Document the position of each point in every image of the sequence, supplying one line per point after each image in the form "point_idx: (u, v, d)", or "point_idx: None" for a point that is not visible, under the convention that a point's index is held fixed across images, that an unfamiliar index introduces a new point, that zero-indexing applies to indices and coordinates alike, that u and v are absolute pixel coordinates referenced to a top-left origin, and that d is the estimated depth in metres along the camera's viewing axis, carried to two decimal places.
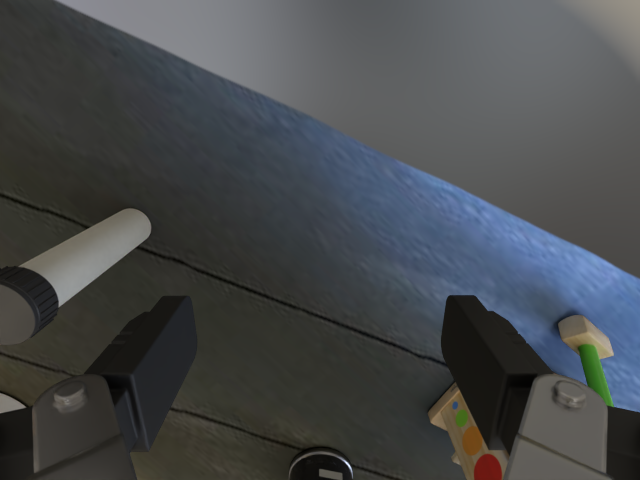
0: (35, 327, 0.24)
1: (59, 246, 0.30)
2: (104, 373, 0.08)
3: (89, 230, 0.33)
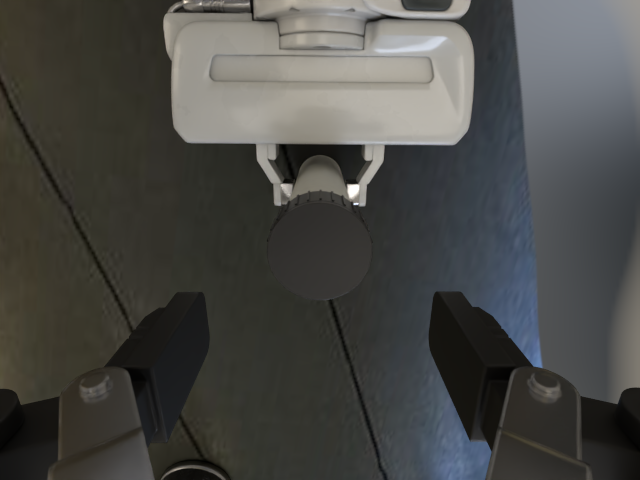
0: (331, 298, 0.17)
1: (343, 189, 0.23)
2: (126, 365, 0.08)
3: (340, 178, 0.26)
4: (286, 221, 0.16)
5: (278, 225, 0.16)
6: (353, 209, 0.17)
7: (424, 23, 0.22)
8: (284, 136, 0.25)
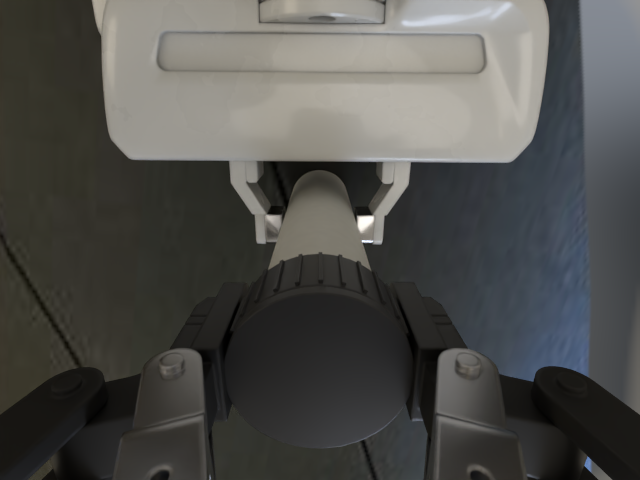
0: (339, 443, 0.10)
1: (353, 231, 0.15)
2: (193, 347, 0.08)
3: (348, 207, 0.19)
4: (256, 324, 0.09)
5: (241, 331, 0.09)
6: (380, 295, 0.09)
7: None
8: (268, 150, 0.17)
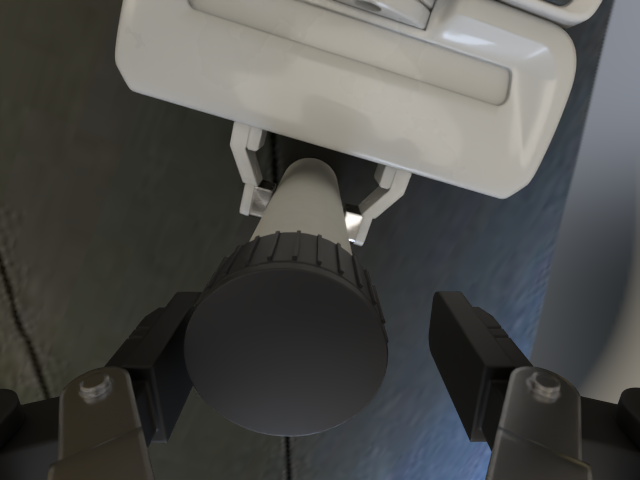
0: (373, 395, 0.09)
1: (343, 224, 0.15)
2: (125, 365, 0.08)
3: (340, 201, 0.19)
4: (195, 363, 0.09)
5: (193, 376, 0.09)
6: (268, 253, 0.08)
7: (524, 17, 0.14)
8: (277, 122, 0.17)
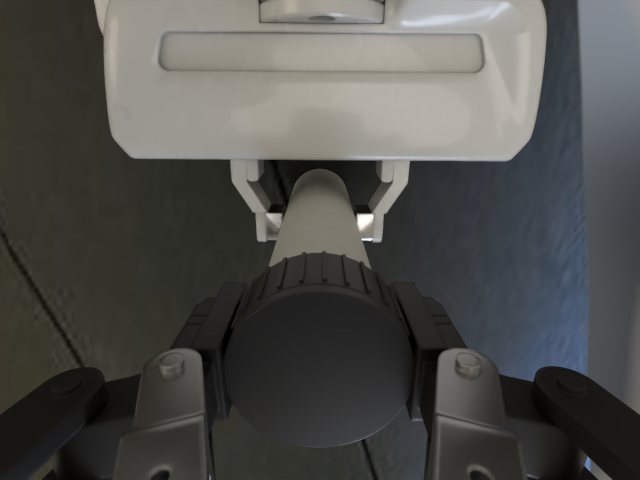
0: (410, 390, 0.09)
1: (353, 229, 0.15)
2: (193, 347, 0.08)
3: (348, 205, 0.19)
4: (239, 397, 0.09)
5: (241, 409, 0.09)
6: (277, 282, 0.09)
7: None
8: (269, 149, 0.17)
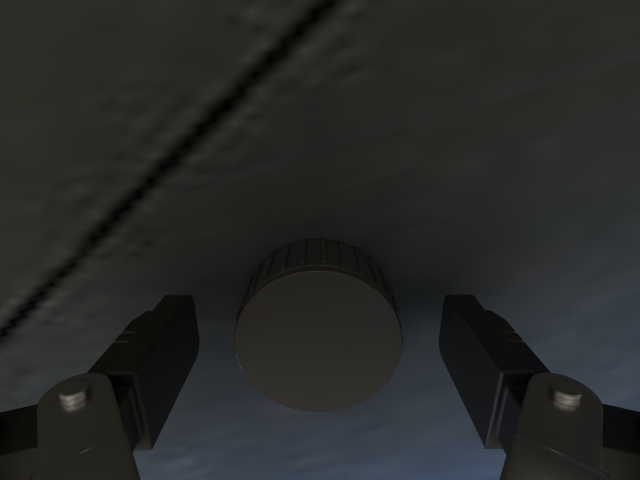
0: (398, 359, 0.11)
1: None
2: (108, 372, 0.08)
3: None
4: (248, 365, 0.11)
5: (249, 376, 0.11)
6: (282, 264, 0.10)
7: None
8: None
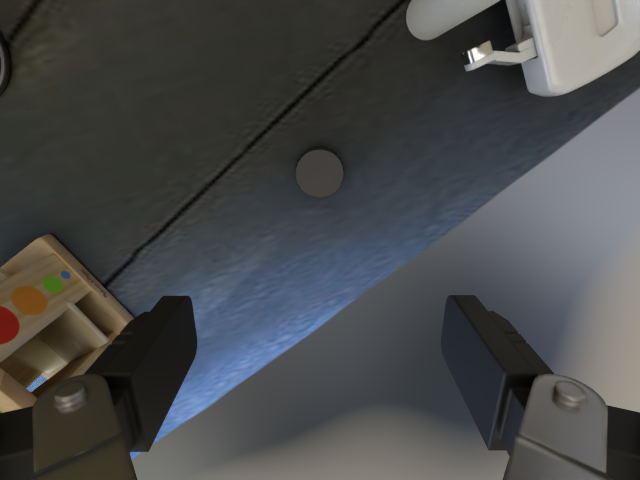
0: None
1: None
2: (104, 373, 0.08)
3: None
4: (299, 180, 0.36)
5: (299, 184, 0.36)
6: (309, 150, 0.36)
7: None
8: None
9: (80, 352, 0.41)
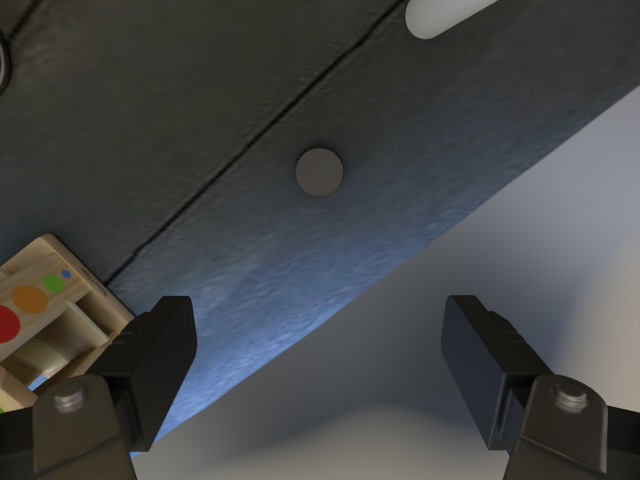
0: (342, 177, 0.36)
1: None
2: (104, 373, 0.08)
3: None
4: (299, 179, 0.36)
5: (299, 183, 0.37)
6: (309, 149, 0.36)
7: None
8: None
9: (80, 351, 0.41)
